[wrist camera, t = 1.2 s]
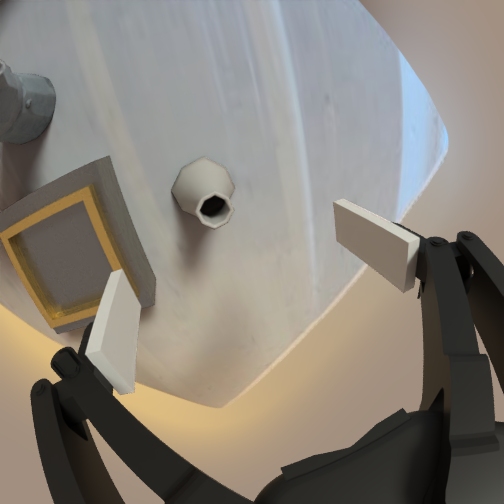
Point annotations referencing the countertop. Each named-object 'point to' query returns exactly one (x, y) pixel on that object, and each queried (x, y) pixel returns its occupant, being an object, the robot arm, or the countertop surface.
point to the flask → (205, 192)
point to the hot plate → (75, 245)
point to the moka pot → (24, 105)
